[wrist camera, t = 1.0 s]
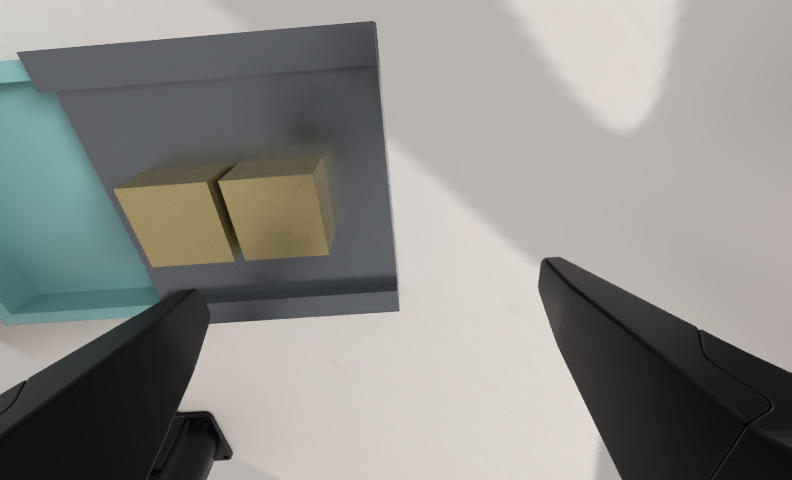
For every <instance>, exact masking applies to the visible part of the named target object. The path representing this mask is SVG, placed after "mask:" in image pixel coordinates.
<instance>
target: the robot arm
mask: <svg viewBox="0 0 792 480" xmlns="http://www.w3.org/2000/svg"><path fill="white" fill-rule="evenodd" d="M538 288H539V293H540V296H541V299H542V302H543V305H544V308H545V311H546V314H547V317H548V320H549V323H550V326H551V329H552V332H553V335H554V337H555V340H556V343H557V345H558V347H559V350H560V352H561V354H562V356H563V358H564V360H565V362H566V364H567V367H568V369H569V371H570V373H571V375H572V377H573V379H574V381H575V383H576V385H577V387H578V389H579V392H580V394H581V396H582V398H583V400H584V402H585V404H586V406H587V408H588V410H589V412H590V414H591V416H592V419H593V421H594V423H595V425H596V427H597V429H598V431H599V433H600V435H601V437H602V439H603V441H604V443H605V446H606V448H607V450H608V452H609V454H610V456H611V458H612V460H613V462H614V464H615V466H616V468H617V470H618V472H619V475H620V476H621V479H622V480H792V373H791V372H788V371H786V370H784V369H782V368H780V367H777V366H775V365H773V364H771V363H769V362H767V361H764V360H762V359H760V358H758V357H756V356H754V355H751V354H749V353H747V352H745V351H743V350H741V349H739V348H737V347H735V346H733V345H731V344H729V343H727V342H725V341H723V340H721V339H719V338H717V337H715V336H713V335H711V334H709V333H707V332H706V331H704V330H701V329H700V330H698V328H697V327H696V326H694V325H692V324H690V323H688V322H686V321H684V320H682V319H680V318H678V317H676V316H674V315H672V314H670V313H668V312H666V311H664V310H662V309H660V308H658V307H657V306H655V305H653V304H650V303H649V302H647V301H645V300H643V299H641V298H639V297H637V296H635V295H633V294H631V293H629V292H627V291H625V290H623V289H621V288H619V287H617V286H616V285H614V284H612V283H610V282H608V281H606V280H604V279H602V278H600V277H598V276H596V275H594V274H592V273H590V272H588V271H586V270H584V269H582V268H581V267H578V266H577V265H575V264H573V263H570V262H569V261H567V260H565V259H563V258H561V257H550V258H544V259H543V260H542V262H541V267H540V275H539V283H538ZM209 322H210V311H209V308H208V306H207V304H206V302H205V300H204V298H203V296H202V294H201V292H200V291H199V290H198V289H196V288H190V289H181V290H179V291H177V292H175V293H173V294H172V295H170V296H168V297H167V298H165V299H163V300H161V301H160V302H158V303H156V304H155V305H153V306H151V307H149V308H148V309H146V310H144V311H143V312H141V313H139V314H137V315H136V316H134V317H132V318H131V319H129V320H127V321H125V322H124V323H122V324H120V325H119V326H117V327H115V328H113V329H112V330H110V331H108V332H107V333H105V334H103V335H102V336H100V337H98V338H96V339H95V340H93V341H91V342H90V343H88V344H86V345H84V346H83V347H81V348H79V349H78V350H76V351H74V352H72V353H71V354H69V355H67V356H66V357H64V358H62V359H60V360H59V361H57V362H55V363H54V364H52V365H50V366H48V367H47V368H45V369H43V370H42V371H40V372H38V373H36V374H35V375H34V376H31V377H30V378H29V379H28V380H27V381H23V382H21V383H19V384H17V385H16V386H14V387H12V388H11V389H9V390H7V391H6V392H4V393H2V394H1V395H0V480H206V479H207V477H208V474H209V472H210V470H211V467H212V465H213V462H214V461H217V460H218V461H219V460H229V459H231V457H232V455H233V452H232V450H231V448H230V446H229V444H228V443H227V441H226V439H225V437H224V435H223V433H222V431H221V429H220V428H219V426H218V424H217V422H216V420H215V418H214V416H213V415H212V414H210V413H190V414H176V412H177V409H178V407H179V405H180V403H181V400H182V398H183V396H184V393H185V391H186V389H187V386H188V384H189V382H190V379H191V377H192V375H193V372H194V369H195V366H196V364H197V360H198V357H199V354H200V351H201V348H202V345H203V341H204V338H205V335H206V332H207V329H208V325H209Z"/></svg>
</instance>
